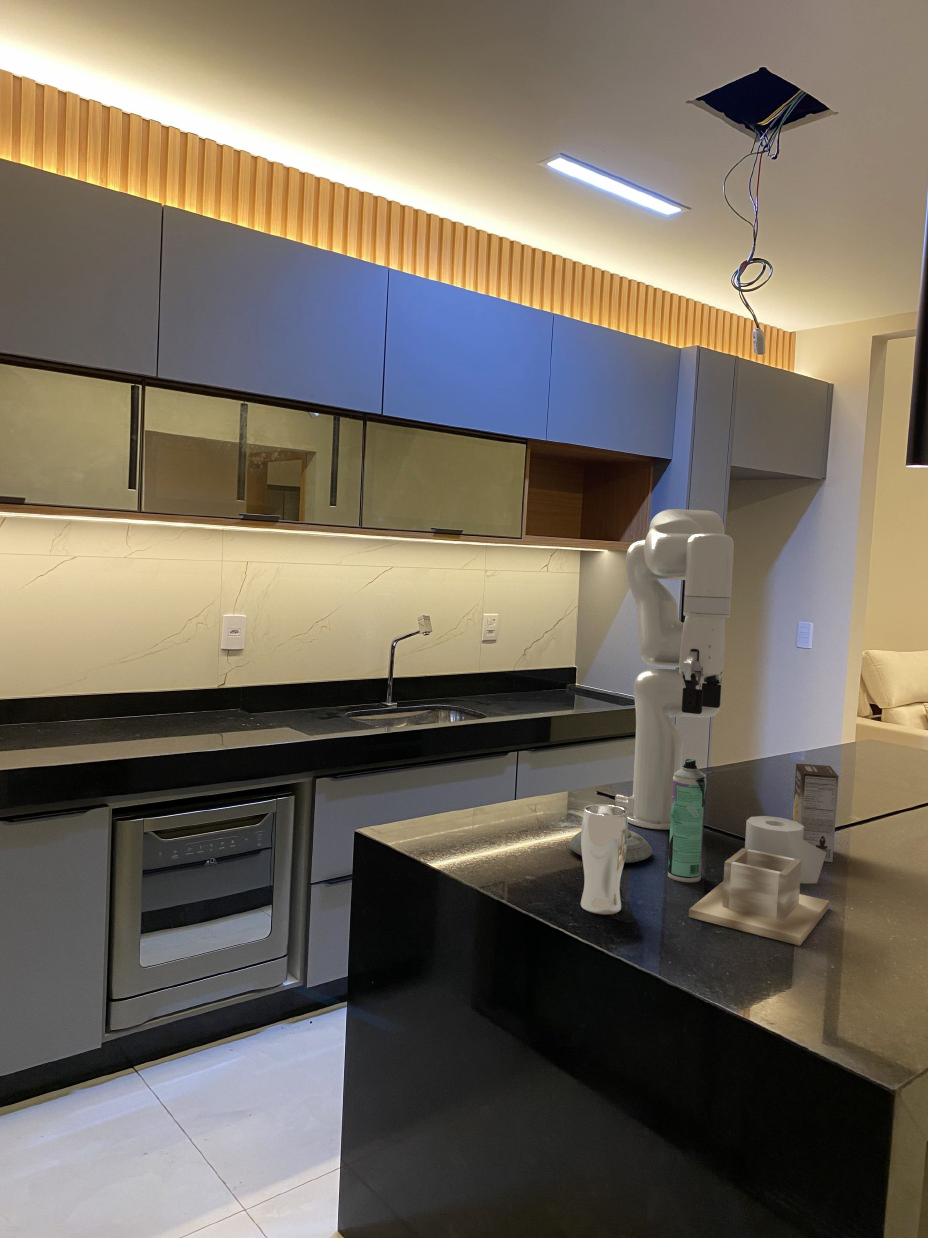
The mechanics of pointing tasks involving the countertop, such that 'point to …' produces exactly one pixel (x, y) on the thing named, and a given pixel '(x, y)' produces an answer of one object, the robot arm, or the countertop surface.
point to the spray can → (687, 823)
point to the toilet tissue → (785, 843)
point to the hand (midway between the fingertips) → (701, 710)
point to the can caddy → (762, 898)
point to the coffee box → (816, 805)
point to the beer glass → (603, 856)
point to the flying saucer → (635, 847)
